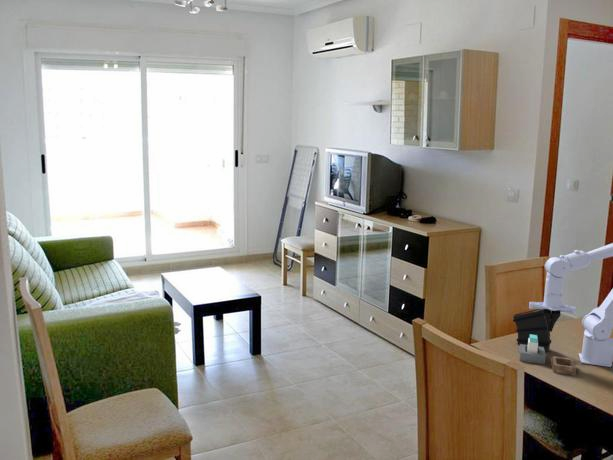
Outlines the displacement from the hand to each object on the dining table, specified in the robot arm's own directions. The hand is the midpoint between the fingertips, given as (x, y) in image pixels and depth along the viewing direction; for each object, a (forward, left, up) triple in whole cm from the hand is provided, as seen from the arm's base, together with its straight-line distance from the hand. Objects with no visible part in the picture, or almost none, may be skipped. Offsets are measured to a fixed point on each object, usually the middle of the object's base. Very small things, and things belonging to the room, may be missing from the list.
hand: (549, 330), depth 198 cm
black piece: (+5, -10, -11) cm, 15 cm away
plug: (+5, +1, -10) cm, 12 cm away
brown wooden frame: (-5, +7, -10) cm, 13 cm away
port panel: (+5, +1, -10) cm, 12 cm away
